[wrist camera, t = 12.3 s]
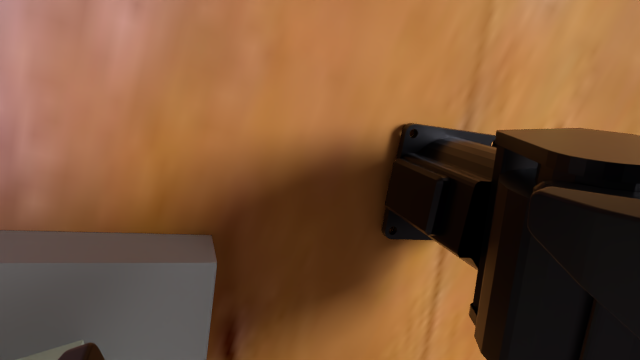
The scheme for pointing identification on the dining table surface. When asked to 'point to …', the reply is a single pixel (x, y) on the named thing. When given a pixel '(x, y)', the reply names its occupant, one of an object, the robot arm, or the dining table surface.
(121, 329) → the plinth
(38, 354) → the sage block
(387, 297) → the dining table surface
